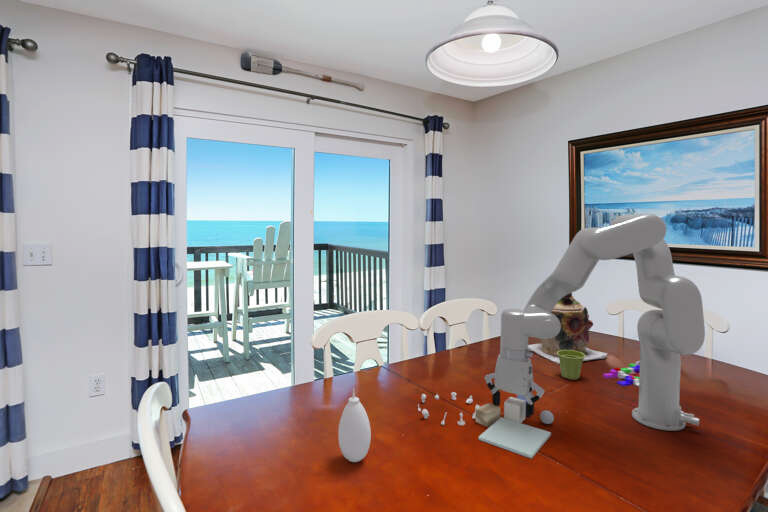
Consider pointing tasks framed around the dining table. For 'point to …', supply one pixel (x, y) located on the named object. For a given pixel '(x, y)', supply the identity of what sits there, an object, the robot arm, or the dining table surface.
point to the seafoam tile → (515, 437)
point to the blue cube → (522, 399)
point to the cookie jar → (569, 332)
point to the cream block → (514, 409)
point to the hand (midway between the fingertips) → (512, 411)
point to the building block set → (626, 374)
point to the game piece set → (446, 412)
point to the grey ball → (546, 417)
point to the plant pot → (570, 363)
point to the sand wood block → (487, 414)
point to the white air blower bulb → (354, 430)
